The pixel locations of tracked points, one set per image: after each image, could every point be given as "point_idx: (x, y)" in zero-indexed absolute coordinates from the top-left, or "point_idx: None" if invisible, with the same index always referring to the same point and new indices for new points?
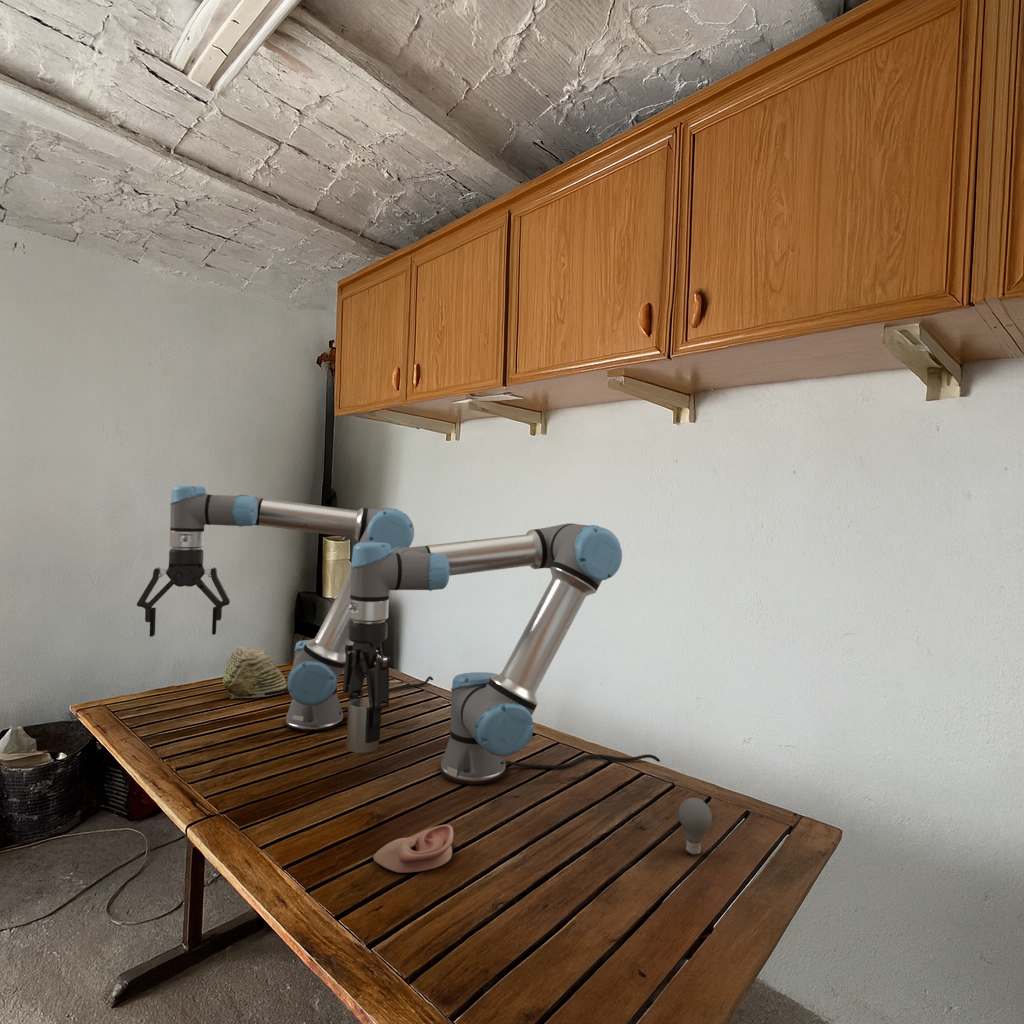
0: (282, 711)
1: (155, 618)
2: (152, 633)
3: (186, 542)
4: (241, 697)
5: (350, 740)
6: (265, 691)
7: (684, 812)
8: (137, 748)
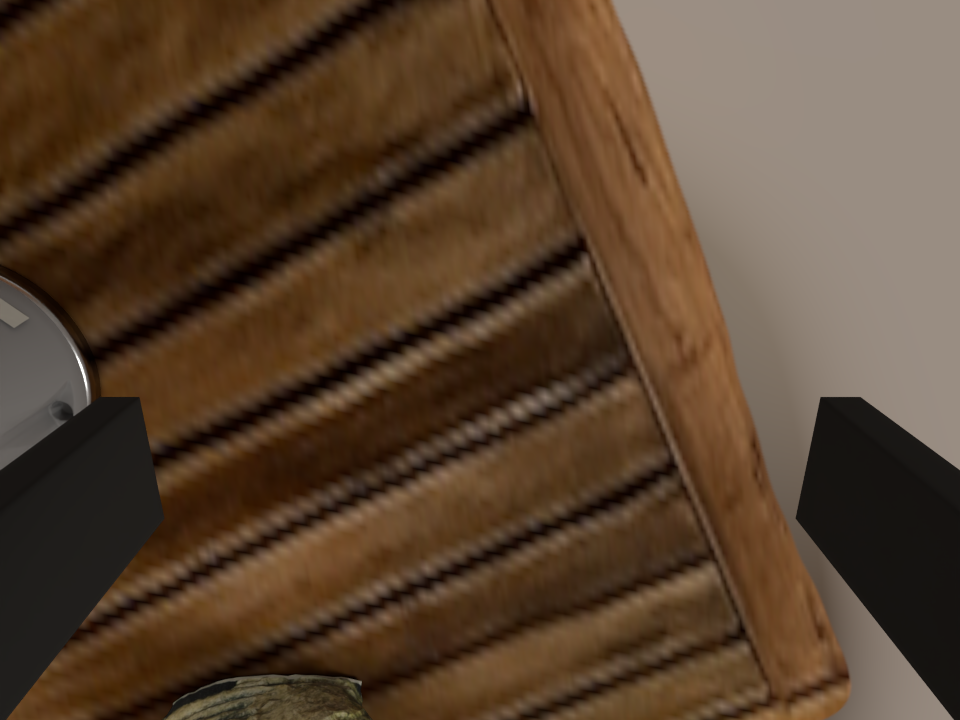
0: None
1: (916, 669)
2: (849, 413)
3: None
4: (319, 677)
5: None
6: (228, 695)
7: None
8: (633, 250)
